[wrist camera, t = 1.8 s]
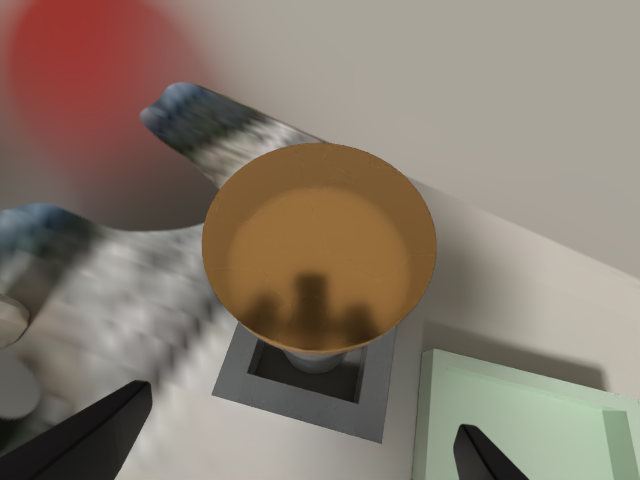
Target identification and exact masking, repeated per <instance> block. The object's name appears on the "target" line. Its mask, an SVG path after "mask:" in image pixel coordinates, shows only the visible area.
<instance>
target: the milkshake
mask: <svg viewBox="0 0 640 480" xmlns="http://www.w3.org/2000/svg"><path fill="white" fill-rule="evenodd" d="M29 315H30V312H29V311H28V310H27V308H26V307H25V306H24V305H23V304H22V303H20V302H18V301H16V300H14V299H11V298H9V297H7V296H4V295H2V294H0V349H2V348H4V347H6V346H8V345H9V344H11V343H13V342H15V341H17V339H18V338H19V337H20V336H21V334H22V333H23V332H24V331H25V329H26V328H27V327H28V322H29Z"/></svg>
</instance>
